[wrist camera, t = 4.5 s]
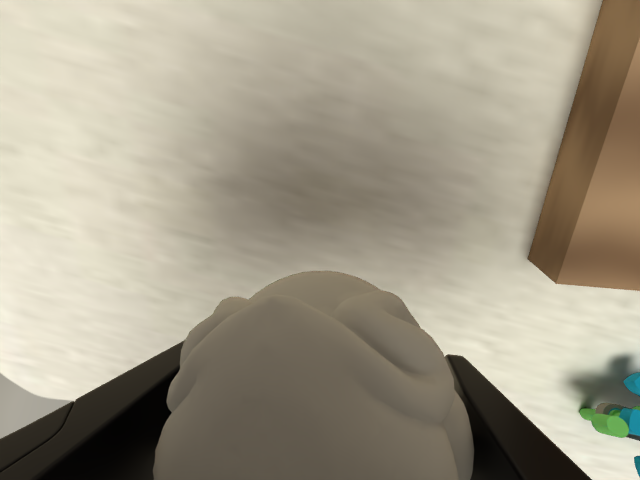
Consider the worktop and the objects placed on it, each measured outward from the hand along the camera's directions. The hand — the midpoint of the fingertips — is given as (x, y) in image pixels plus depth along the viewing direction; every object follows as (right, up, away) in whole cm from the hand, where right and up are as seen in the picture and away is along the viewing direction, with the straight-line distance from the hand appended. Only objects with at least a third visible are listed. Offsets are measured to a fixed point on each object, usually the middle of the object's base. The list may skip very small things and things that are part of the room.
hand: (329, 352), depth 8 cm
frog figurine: (0, +1, +1) cm, 2 cm away
